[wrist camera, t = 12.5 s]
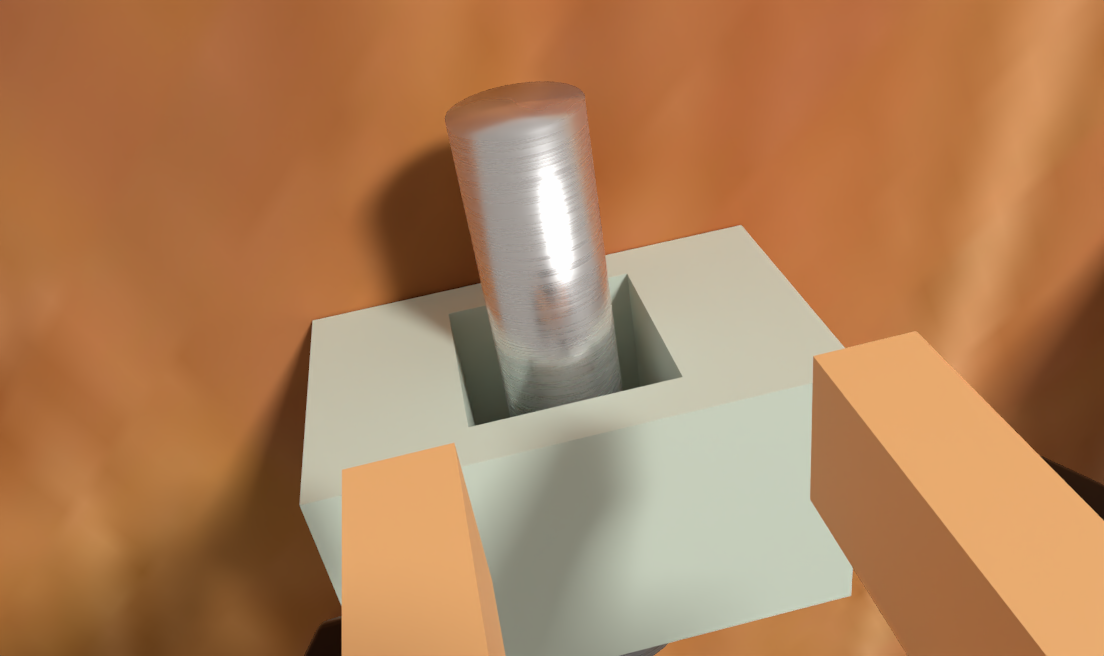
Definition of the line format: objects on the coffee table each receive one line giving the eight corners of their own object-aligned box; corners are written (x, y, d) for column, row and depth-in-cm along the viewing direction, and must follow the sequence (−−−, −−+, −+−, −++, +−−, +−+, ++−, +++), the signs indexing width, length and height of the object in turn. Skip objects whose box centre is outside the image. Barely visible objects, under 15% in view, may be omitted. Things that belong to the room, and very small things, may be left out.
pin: (660, 511, 24) (715, 644, 20) (500, 550, 24) (526, 693, 20) (608, 47, 17) (678, 123, 14) (382, 93, 17) (391, 184, 13)
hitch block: (747, 423, 24) (850, 595, 19) (379, 512, 23) (387, 715, 18) (741, 225, 21) (863, 370, 16) (312, 320, 20) (299, 504, 15)
